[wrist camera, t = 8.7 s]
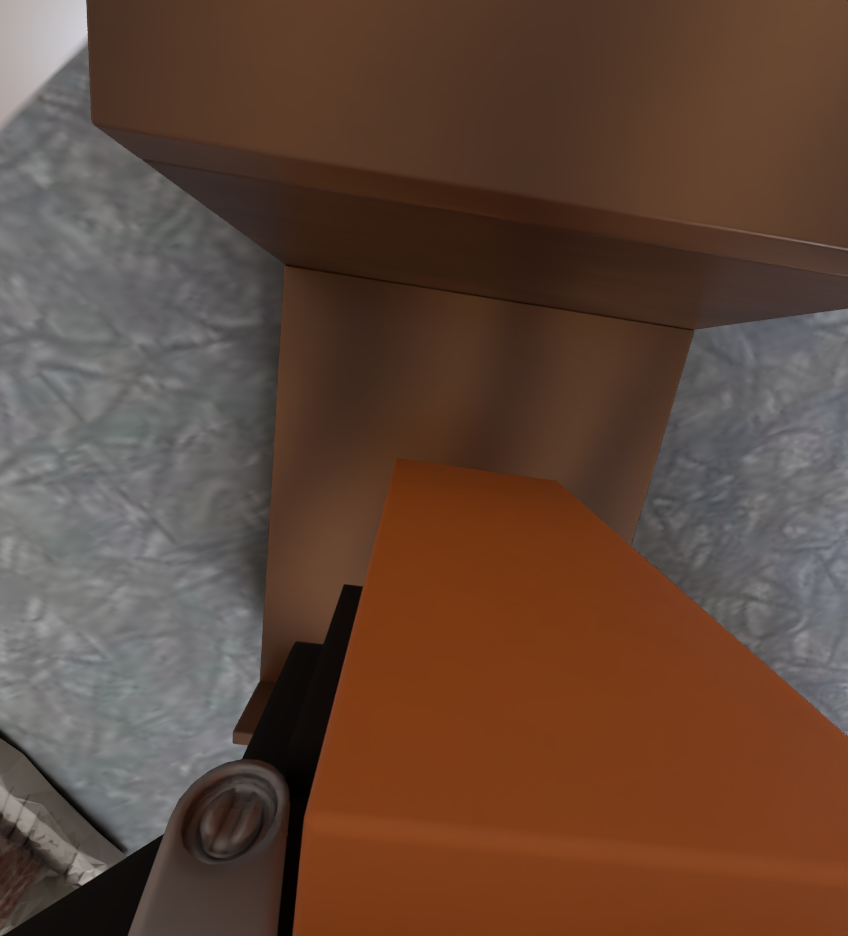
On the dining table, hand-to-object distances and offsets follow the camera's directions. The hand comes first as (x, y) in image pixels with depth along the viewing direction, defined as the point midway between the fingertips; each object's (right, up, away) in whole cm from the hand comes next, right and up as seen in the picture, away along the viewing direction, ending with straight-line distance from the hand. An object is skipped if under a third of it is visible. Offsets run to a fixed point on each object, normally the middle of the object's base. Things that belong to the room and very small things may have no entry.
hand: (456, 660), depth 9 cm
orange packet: (0, 0, +2) cm, 2 cm away
